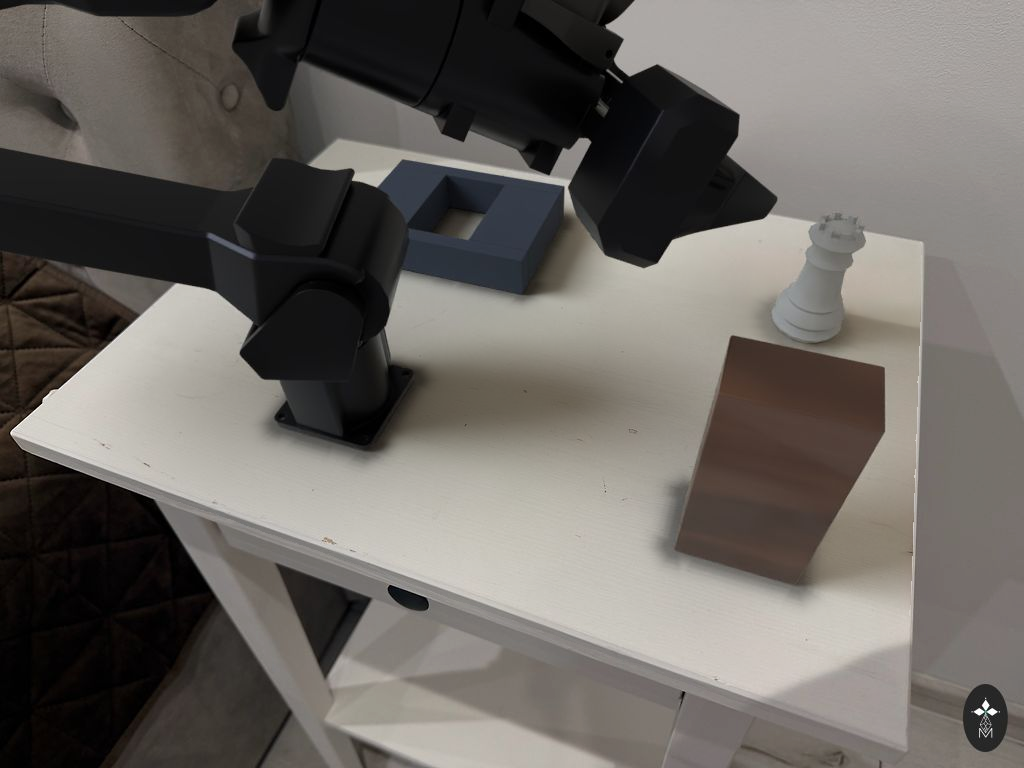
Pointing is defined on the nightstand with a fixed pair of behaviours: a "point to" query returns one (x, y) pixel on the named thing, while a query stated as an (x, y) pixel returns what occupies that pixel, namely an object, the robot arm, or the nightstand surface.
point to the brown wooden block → (779, 456)
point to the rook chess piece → (820, 281)
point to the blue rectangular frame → (497, 239)
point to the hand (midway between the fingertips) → (721, 166)
